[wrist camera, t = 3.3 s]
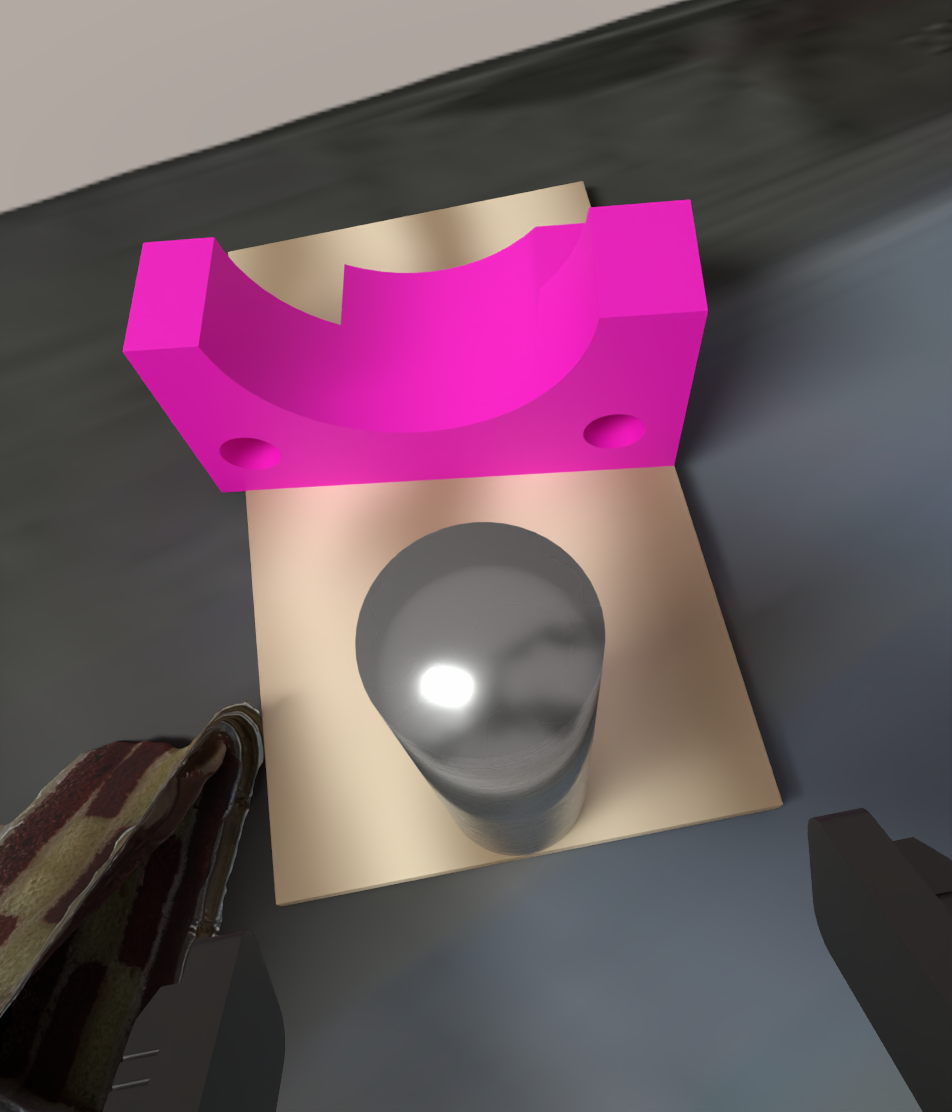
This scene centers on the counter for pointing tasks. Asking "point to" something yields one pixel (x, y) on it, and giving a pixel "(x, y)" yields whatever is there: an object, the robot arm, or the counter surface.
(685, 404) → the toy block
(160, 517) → the counter surface
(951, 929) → the robot arm
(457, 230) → the beige piece
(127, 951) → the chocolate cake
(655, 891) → the counter surface
